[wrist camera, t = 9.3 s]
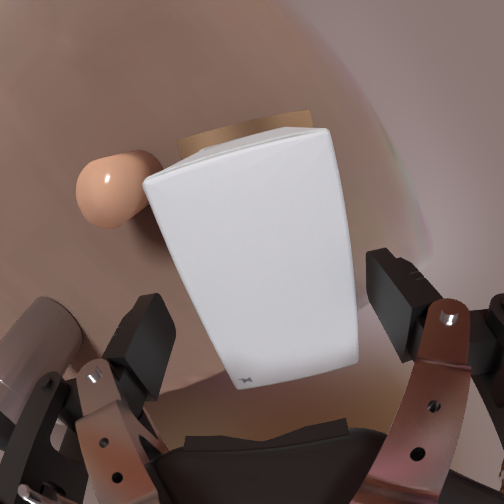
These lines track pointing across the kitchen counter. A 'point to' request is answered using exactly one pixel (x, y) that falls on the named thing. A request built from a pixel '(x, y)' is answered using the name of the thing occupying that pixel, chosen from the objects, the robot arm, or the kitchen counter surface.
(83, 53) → the kitchen counter surface
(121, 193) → the peach rounded knob
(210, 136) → the stand
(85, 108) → the kitchen counter surface
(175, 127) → the kitchen counter surface
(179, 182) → the skincare box
